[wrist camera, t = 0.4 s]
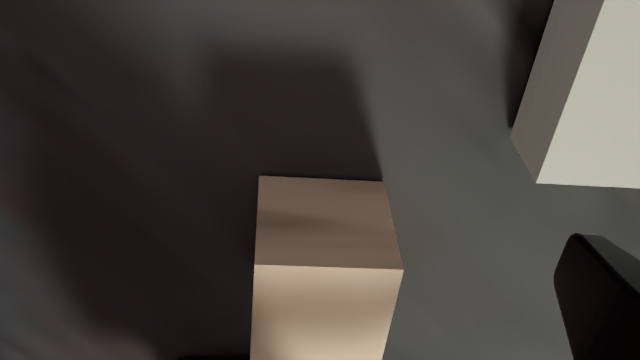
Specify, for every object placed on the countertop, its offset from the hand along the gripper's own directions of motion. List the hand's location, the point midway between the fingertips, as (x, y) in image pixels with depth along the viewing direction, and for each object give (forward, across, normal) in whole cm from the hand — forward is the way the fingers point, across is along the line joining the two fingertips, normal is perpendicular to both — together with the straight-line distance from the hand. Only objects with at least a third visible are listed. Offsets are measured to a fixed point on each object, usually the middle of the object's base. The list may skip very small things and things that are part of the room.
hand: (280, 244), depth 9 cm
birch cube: (+13, -2, +10) cm, 17 cm away
